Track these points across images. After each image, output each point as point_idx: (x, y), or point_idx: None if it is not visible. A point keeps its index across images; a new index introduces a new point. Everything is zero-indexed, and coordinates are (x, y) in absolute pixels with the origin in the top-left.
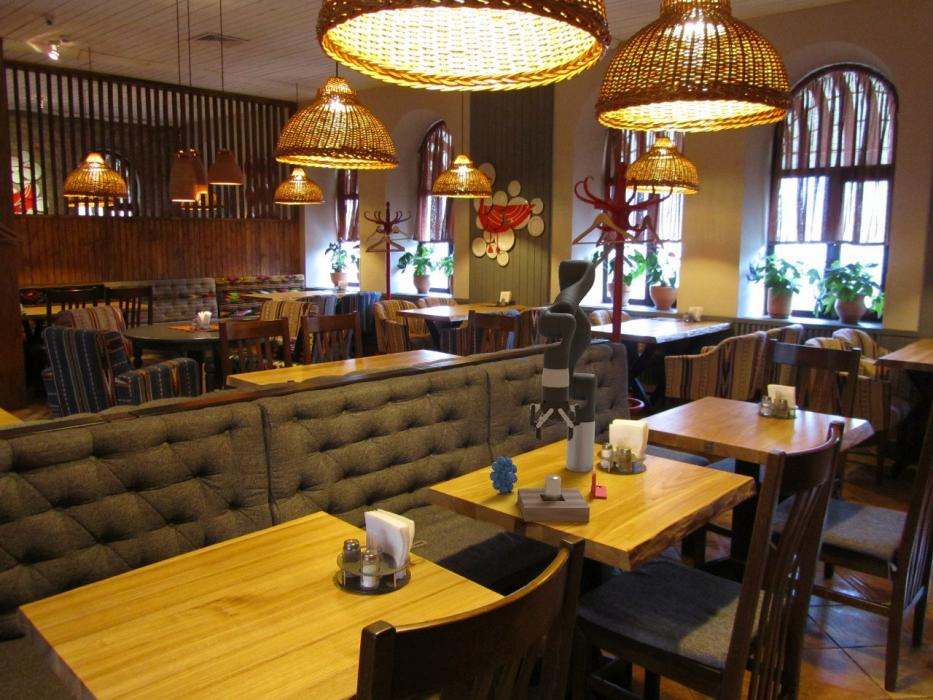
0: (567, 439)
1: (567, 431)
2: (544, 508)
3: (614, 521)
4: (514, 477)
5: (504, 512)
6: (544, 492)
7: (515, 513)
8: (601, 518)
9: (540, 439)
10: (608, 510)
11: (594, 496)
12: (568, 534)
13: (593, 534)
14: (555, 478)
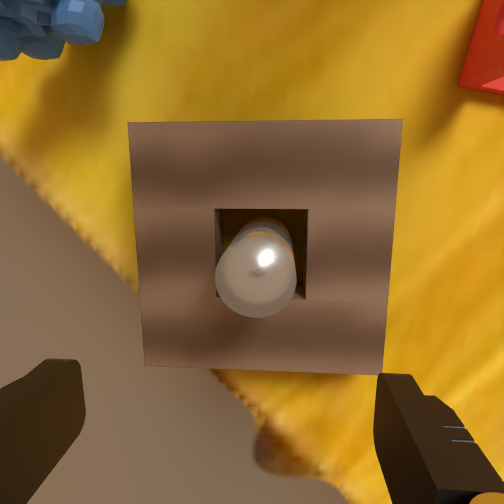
0: (377, 391)
1: (406, 441)
2: (214, 367)
3: (457, 348)
4: (100, 28)
5: (101, 253)
6: (237, 184)
7: (136, 264)
8: (421, 319)
9: (75, 436)
10: (478, 235)
11: (475, 85)
12: (279, 445)
13: (352, 449)
14: (264, 298)
